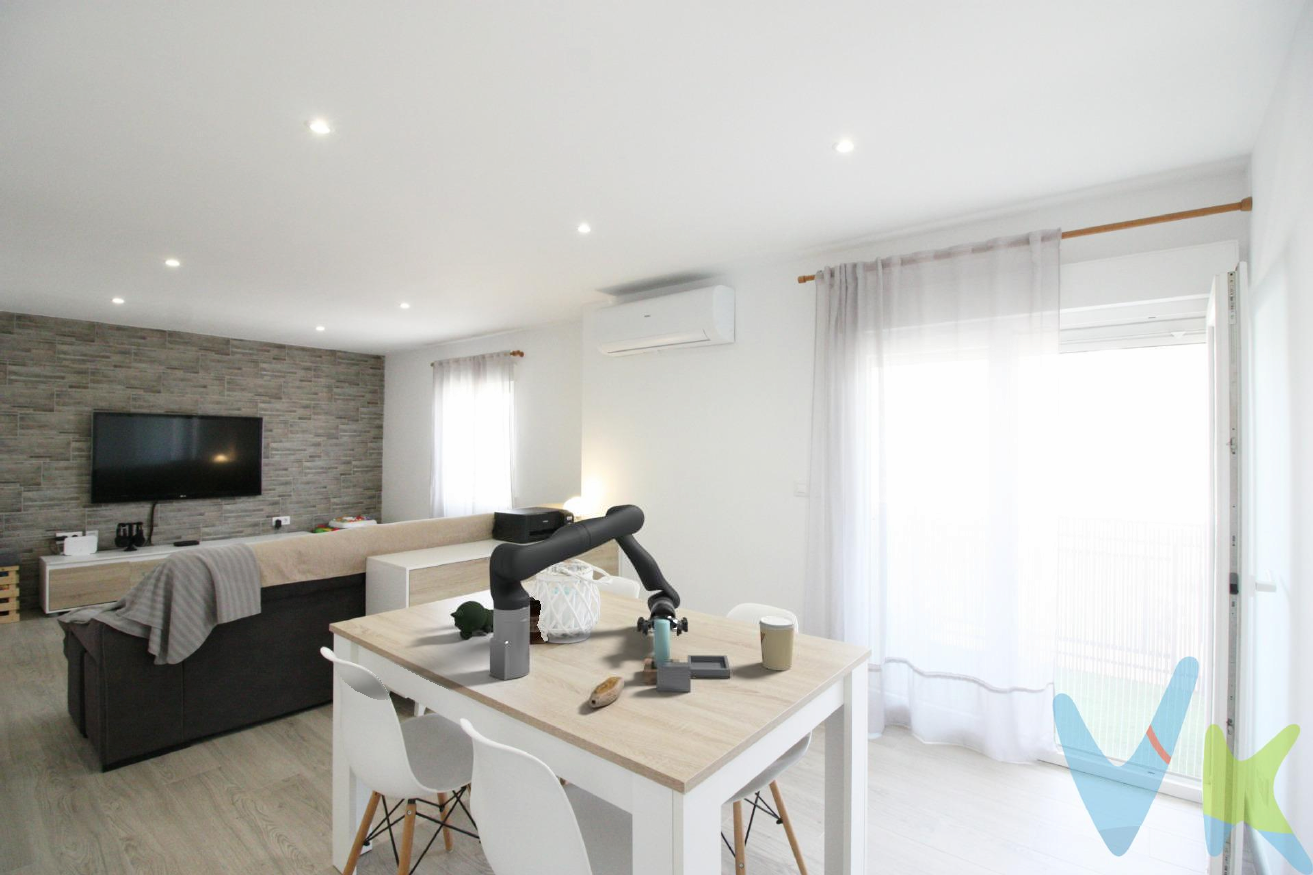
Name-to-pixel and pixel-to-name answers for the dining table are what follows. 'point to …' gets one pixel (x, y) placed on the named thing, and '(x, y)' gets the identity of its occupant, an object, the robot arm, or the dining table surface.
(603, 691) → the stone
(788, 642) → the coffee cup
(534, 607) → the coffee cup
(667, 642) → the dowel
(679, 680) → the gray rectangular block
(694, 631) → the dining table surface
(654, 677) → the socket
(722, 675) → the tray
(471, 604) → the toy figurine
